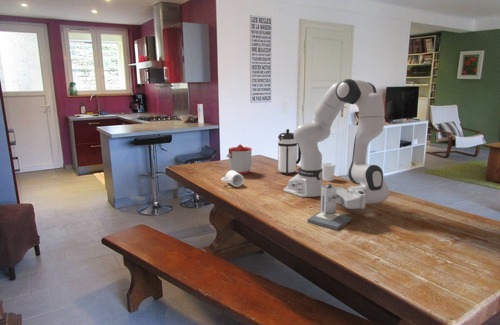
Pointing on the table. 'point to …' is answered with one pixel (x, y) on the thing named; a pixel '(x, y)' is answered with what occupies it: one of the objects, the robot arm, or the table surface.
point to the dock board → (329, 220)
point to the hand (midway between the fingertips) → (326, 198)
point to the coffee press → (288, 153)
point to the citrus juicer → (240, 159)
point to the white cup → (328, 171)
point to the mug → (233, 178)
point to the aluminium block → (326, 194)
